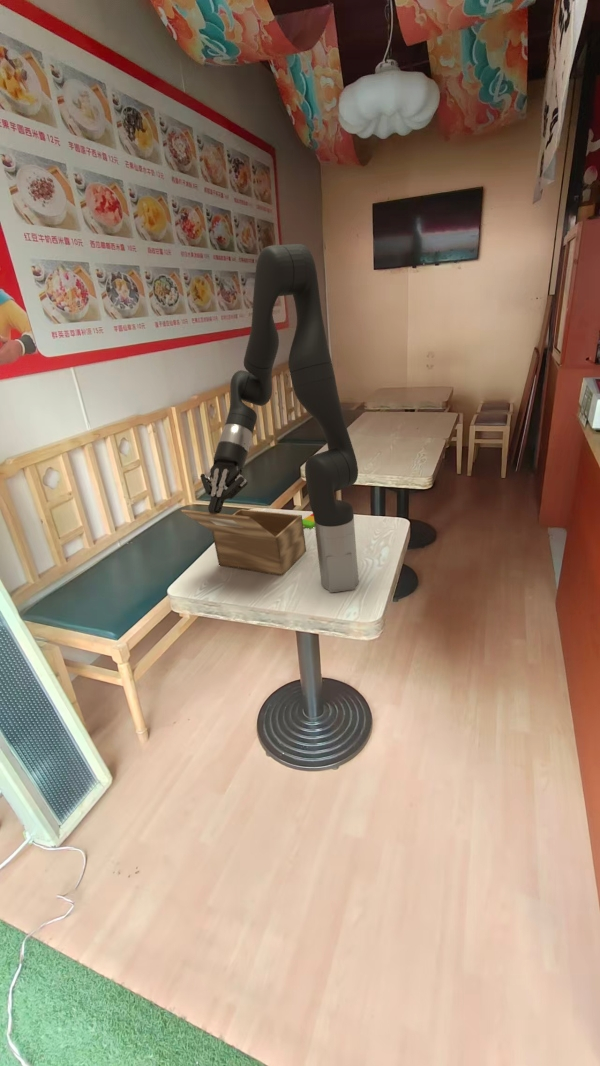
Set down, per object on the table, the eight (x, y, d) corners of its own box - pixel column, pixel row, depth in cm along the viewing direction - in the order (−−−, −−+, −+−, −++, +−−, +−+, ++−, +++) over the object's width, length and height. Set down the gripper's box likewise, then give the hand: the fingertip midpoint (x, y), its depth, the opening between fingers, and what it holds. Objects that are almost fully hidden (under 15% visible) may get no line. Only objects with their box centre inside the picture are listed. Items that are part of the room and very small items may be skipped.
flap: (181, 509, 126) (180, 511, 126) (249, 516, 117) (248, 519, 117) (212, 529, 138) (211, 531, 138) (275, 537, 129) (275, 539, 129)
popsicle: (330, 519, 163) (329, 514, 163) (298, 538, 154) (297, 532, 153) (316, 516, 167) (316, 511, 166) (285, 534, 157) (284, 529, 157)
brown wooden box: (246, 543, 154) (240, 509, 149) (306, 551, 145) (301, 515, 140) (219, 565, 143) (211, 529, 138) (282, 575, 134) (276, 537, 129)
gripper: (203, 439, 126) (181, 505, 121) (248, 440, 120) (228, 510, 115) (219, 453, 132) (200, 516, 128) (263, 455, 126) (244, 521, 122)
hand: (213, 513), depth 122 cm, fingers closed
